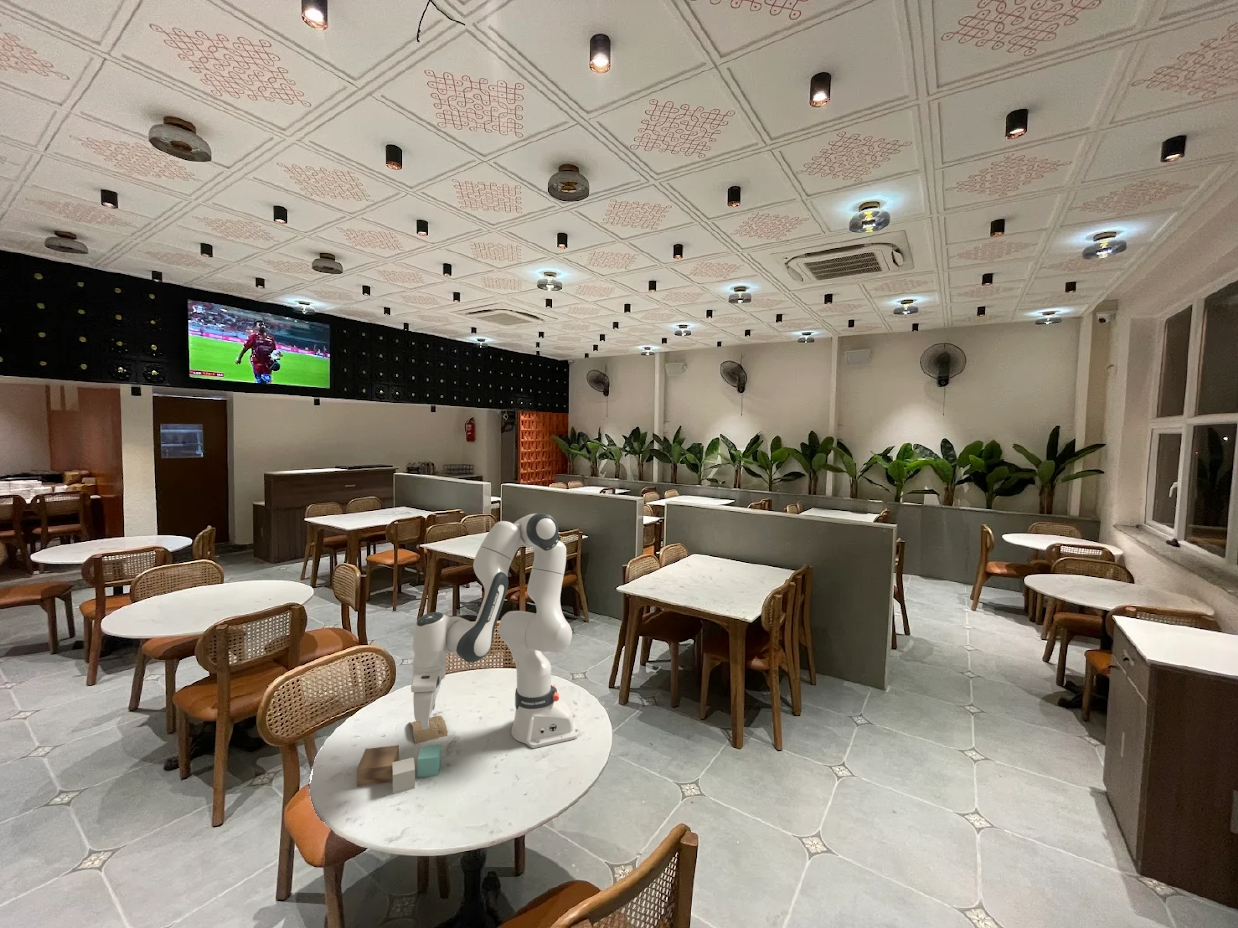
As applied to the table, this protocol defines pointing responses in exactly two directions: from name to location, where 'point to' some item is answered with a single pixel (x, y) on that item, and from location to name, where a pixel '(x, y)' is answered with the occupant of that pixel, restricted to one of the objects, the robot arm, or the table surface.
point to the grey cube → (403, 775)
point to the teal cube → (429, 761)
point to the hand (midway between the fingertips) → (428, 718)
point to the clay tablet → (429, 730)
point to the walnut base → (377, 765)
